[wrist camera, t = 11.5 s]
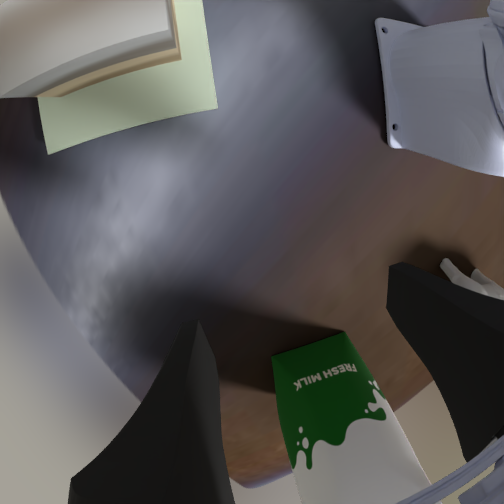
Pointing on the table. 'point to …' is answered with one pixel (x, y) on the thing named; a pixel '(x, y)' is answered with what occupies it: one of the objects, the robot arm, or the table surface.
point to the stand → (137, 91)
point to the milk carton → (341, 428)
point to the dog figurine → (472, 280)
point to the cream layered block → (81, 43)
